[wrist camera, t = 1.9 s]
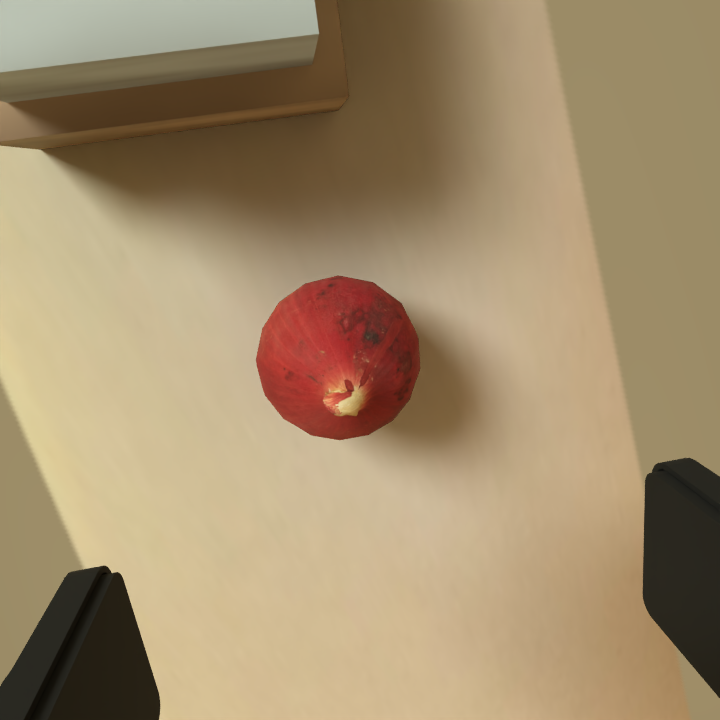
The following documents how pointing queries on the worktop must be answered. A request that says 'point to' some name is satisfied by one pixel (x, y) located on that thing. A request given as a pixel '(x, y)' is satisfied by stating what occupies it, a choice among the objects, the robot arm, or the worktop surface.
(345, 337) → the onion
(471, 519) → the worktop surface
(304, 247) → the worktop surface
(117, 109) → the wood and metal block
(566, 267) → the worktop surface
